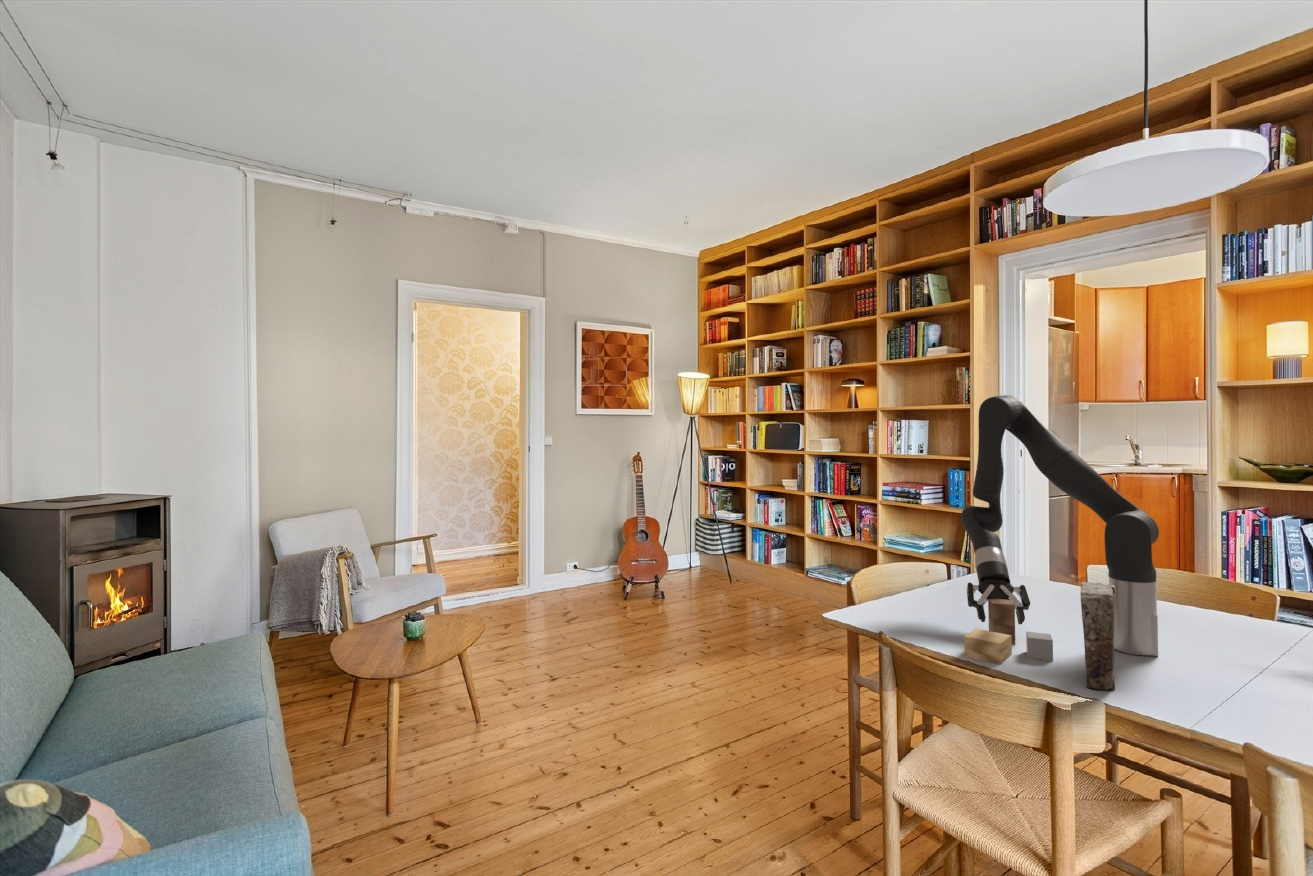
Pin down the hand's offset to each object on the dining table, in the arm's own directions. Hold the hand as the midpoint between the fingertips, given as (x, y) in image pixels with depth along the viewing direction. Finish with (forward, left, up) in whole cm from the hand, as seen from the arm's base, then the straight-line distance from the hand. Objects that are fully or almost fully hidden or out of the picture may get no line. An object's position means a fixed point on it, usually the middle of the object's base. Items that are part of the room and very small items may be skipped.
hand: (1002, 621), depth 161 cm
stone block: (-21, +17, -5) cm, 27 cm away
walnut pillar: (0, -1, -5) cm, 5 cm away
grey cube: (-9, +7, -5) cm, 12 cm away
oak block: (+1, +13, -5) cm, 14 cm away
